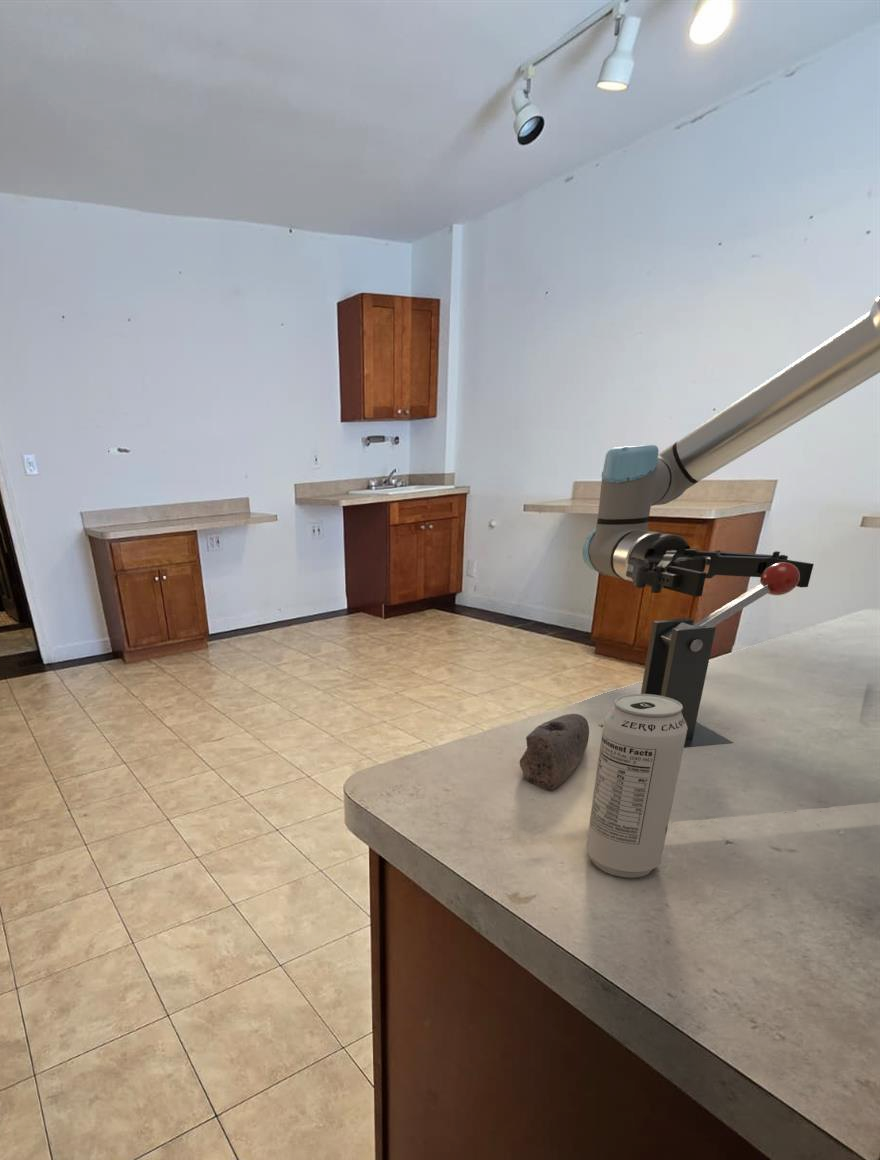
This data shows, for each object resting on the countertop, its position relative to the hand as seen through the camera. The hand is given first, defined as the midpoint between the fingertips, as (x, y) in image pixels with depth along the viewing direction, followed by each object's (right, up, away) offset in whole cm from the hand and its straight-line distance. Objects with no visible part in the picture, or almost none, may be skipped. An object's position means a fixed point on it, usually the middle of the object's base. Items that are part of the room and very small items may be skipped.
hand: (754, 580), depth 76 cm
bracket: (-9, -19, +3) cm, 22 cm away
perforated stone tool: (-25, -23, -3) cm, 34 cm away
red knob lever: (-4, -6, -3) cm, 7 cm away
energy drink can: (-26, -31, -19) cm, 45 cm away
